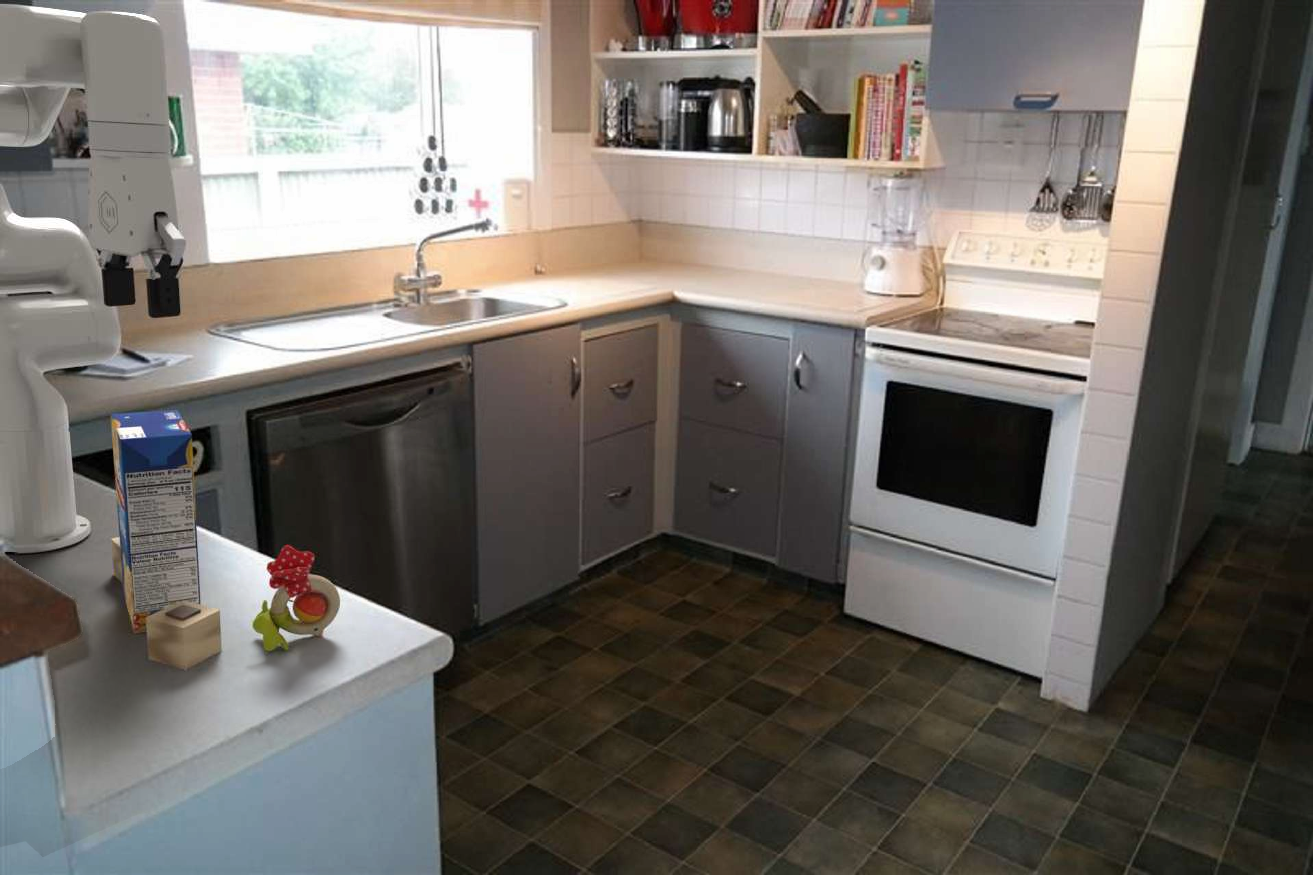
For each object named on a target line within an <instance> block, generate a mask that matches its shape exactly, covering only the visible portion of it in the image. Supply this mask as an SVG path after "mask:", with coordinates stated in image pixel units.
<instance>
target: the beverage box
mask: <svg viewBox="0 0 1313 875" xmlns="http://www.w3.org/2000/svg"><path fill="white" fill-rule="evenodd" d="M110 424H111V437H112V439H111V441H112V451H113V464H114V466H113V467H114V477H115V478H114V480H115V492H116V493H115V494H116V506H117V520H118V534H119V536H118V537H120V549H121V563H122V577H123V584H122V587H123V596H124V602H125V604H127V605H126V607H127V611H128V615H130V616H129V619H130V622H132V623H131V626H132V630H133V632H139V633H144V632H143V631H145V632H147V631H146V630H147V627H146V617H148V616H150V615H152V614H154V613H156V612H159V611H161V610H163V609H165V608H167V607H169V606H172V605H174V604H176V603H178V602H180V601H182V600H185V601H189V602H192V603H196V604H200V605H202V604H201V587H200V566H199V549H198V548H199V547H198V546H199V545H198V533H197V531H198V530H197V528H198V527H197V512H196V510H197V509H196V508H197V507H196V494H195V493H196V492H195V474H194V472H195V471H194V453H193V452H194V451H193V434H192V432H191V430H190V429H189V428H188V426H187V424H186V423H185V421H184V419H183V417H182V416H181V415H180V413H179V411H178V409H172V410H170V409H169V410H158V411H157V410H155V411H154V410H153V411H141V412H139V411H138V412H126V413H110Z"/></svg>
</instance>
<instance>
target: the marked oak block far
mask: <svg viewBox="0 0 1313 875" xmlns="http://www.w3.org/2000/svg"><path fill="white" fill-rule="evenodd" d="M110 540H111V541H110V543H111V556H112V567H113V568H112V570H113V576H115V577H116V578H117V579H118V581H119V582H120V583H121V584H122V583H123V577H122V563H121V549H120V536H118V537H113V538H111V539H110Z"/></svg>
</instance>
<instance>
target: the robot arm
mask: <svg viewBox="0 0 1313 875" xmlns="http://www.w3.org/2000/svg"><path fill="white" fill-rule="evenodd" d="M165 48H166V47H165V36H164V31H163V28H162V26H161V24H160V23H159V22H158V21H157V20H156V19H154V18H152V17H150V16H147V15H143V14H137V13H134V12H133V13H131V12H123V11H114V10H113V11H109V10H99V11H90V12H87V13H84V12H80V11H73V10H72V11H71V10H64V9H57V8H56V9H55V8H50V7H41V6H39V7H38V6H31V5H23V4H14V3H13V4H10V3H8V4H7V3H0V147H13V148H14V147H16V148H17V147H18V148H25V147H26V148H27V147H35V146H38V145H40V144H42V143H43V142H44V141H45V140H46V139H47V138H49V137H48V136H49V135H50V134H51V132H52V130H53V128H54V126H55V123H56V121H57V119H58V116H59V115H60V112H61V110H62V108H63V106H64V104H65V102H66V99H67V97H68V95H69V93H70V91H71V89H81V90H82V89H83V90H84V95H85V96H84V97H85V106H86V107H85V109H86V119H87V133H88V134H87V135H88V144H89V147H88V148H89V155H90V159H89V169H88V186H87V187H88V189H87V190H88V192H87V193H88V197H87V198H88V226H89V239H88V238H87V236H86V234H85V233H84V232H83V230H81V229H80V227H78V226H77V225H76V224H75V223H73V222H71V221H69V220H67V219H65V218H61V217H60V218H59V217H51V216H50V217H49V216H48V217H47V216H45V217H38V216H37V217H30V216H29V217H25V216H23V217H22V216H19V215H17V214H16V213H15V212H14V210H13V208H12V207H11V205H10V202H9V200H8V196H7V193H6V190H5V188H4V186H3V185H2V183H1V182H0V295H5V294H7V295H8V294H9V296H2V297H0V535H3V536H4V537H5V539H7V540H8V541H10V542H11V543H13V545H14V546H15V551H16V552H17V553H16V554H34V553H42V552H48V551H54V550H58V549H62V548H66V547H68V546H72V545H75V544H77V543H79V542H81V541H83V540H85V539H86V537H88V536H89V535H90V533H91V531H92V530H91V529H92V528H91V527H92V526H91V522H90V521H89V519H87V518H86V517H84V516H82V515H79V514H77V508H76V496H75V495H76V494H75V483H74V470H73V460H72V459H73V458H72V448H71V446H72V445H71V435H70V434H71V433H70V425H69V424H70V423H69V414H68V406H67V403H66V400H65V399H64V397H63V396H62V394H61V393H60V392H59V391H58V390H57V389H56V388H55V387H54V386H53V385H52V384H50V382H49V381H48V380H47V379H46V378H45V376H44V373H45V372H48V371H55V370H60V369H68V368H75V367H85V366H92V365H98V364H103V363H106V362H108V361H110V360H112V359H113V358H114V357H116V356H117V354H118V352H119V350H120V348H121V344H122V333H121V331H122V330H121V326H120V325H121V324H120V322H119V318H118V314H117V311H116V308H115V307H124V306H133V305H135V304H136V287H135V274H134V273H135V272H134V268H133V267H129V266H130V263H131V261H132V258H133V257H134V258H135V257H139V256H140V255H141V257H142V260H143V263H144V264H145V267H146V269H147V272H148V275H149V276H150V278H146V279H145V282H146V296H147V297H146V298H147V312H148V316H149V318H151V319H159V318H160V319H161V318H162V319H163V318H173V317H179V316H181V314H182V313H181V296H180V294H181V293H180V280H179V279H180V278H181V276H182V271H181V267H182V265H183V263H184V258H183V256H184V252H185V251H186V247H187V242H186V241H187V240H186V238H185V237H184V236H183V235H182V233H180V231H179V221H178V220H179V218H178V210H177V209H178V208H177V201H176V192H175V185H174V179H173V174H172V168H171V164H170V159H172V149H171V148H172V146H171V134H170V133H171V132H170V116H169V114H170V113H169V98H168V84H167V82H168V81H167V66H166V65H167V64H166V63H167V62H166V51H165ZM89 240H90V241H89ZM90 243H91V244H90ZM91 245H92V246H93V247H94V248H95V250H96V252H97V254H98V256H99V258H98V261H97V257H96V256H95V252H94V251H93V248H92V246H91ZM156 259H159V260H158V263H157V261H156ZM37 292H38V293H39V294H28V295H26V294H25V295H14V296H13V295H11V296H10V294H22V293H23V294H24V293H37ZM40 292H51V293H49V294H48V293H47V294H46V293H45V294H41V293H40Z"/></svg>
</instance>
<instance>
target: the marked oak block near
mask: <svg viewBox="0 0 1313 875" xmlns="http://www.w3.org/2000/svg"><path fill="white" fill-rule="evenodd" d="M146 627H147V631H146V637H147V639H146V640H147V641H146V642H147V655H148V660H151V661H154V660H155V661H154V662H157V661H158V663H160V662H162V663H161V664H164V663H166V664H165V665H167V666H170V665H171V667H174V666H175V668H177V667H179V668H178V669H180V668H181V670H183V669H187V670H189V669H190V668H192V667H194V666H196V665H197V663H198V662H200V661H201V662H203V661H205V660H207V659H209V658H210V656H211V657H212V655H213V654H214V655H216V654H218V653H220V652H221V651H222V632H221V631H222V630H221V628H222V627H221V611H220V609H218V608H214V607H211V606H207V605H203V604H201V605H200V604H196V603H192V602H189V601H185V600H182V601H180V602H178V603H176V604H174V605H172V606H169V607H167V608H165V609H163V610H161V611H159V612H156V613H154V614H152V615H150V616H148V617H146ZM214 655H213V656H214ZM208 657H209V658H208ZM206 658H207V659H206ZM201 662H200V663H201ZM198 664H199V663H198ZM193 665H194V666H193ZM188 668H189V669H188Z"/></svg>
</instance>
